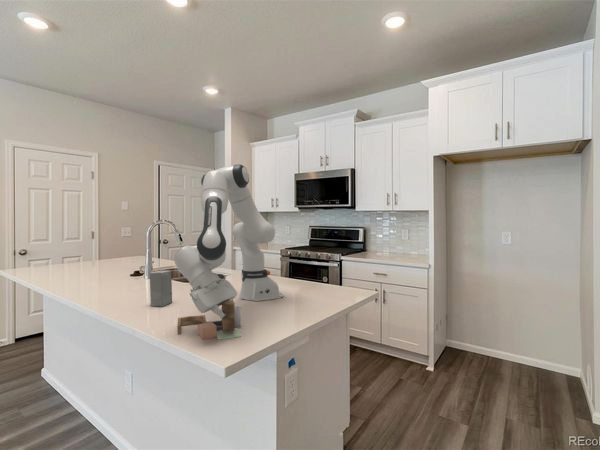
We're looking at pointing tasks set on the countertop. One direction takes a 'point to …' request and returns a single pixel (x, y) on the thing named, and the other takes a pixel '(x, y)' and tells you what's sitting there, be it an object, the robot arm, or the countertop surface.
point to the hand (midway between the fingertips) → (229, 313)
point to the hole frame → (217, 324)
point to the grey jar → (237, 317)
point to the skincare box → (160, 288)
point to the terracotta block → (207, 330)
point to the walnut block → (228, 316)
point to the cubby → (190, 321)
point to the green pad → (228, 334)
